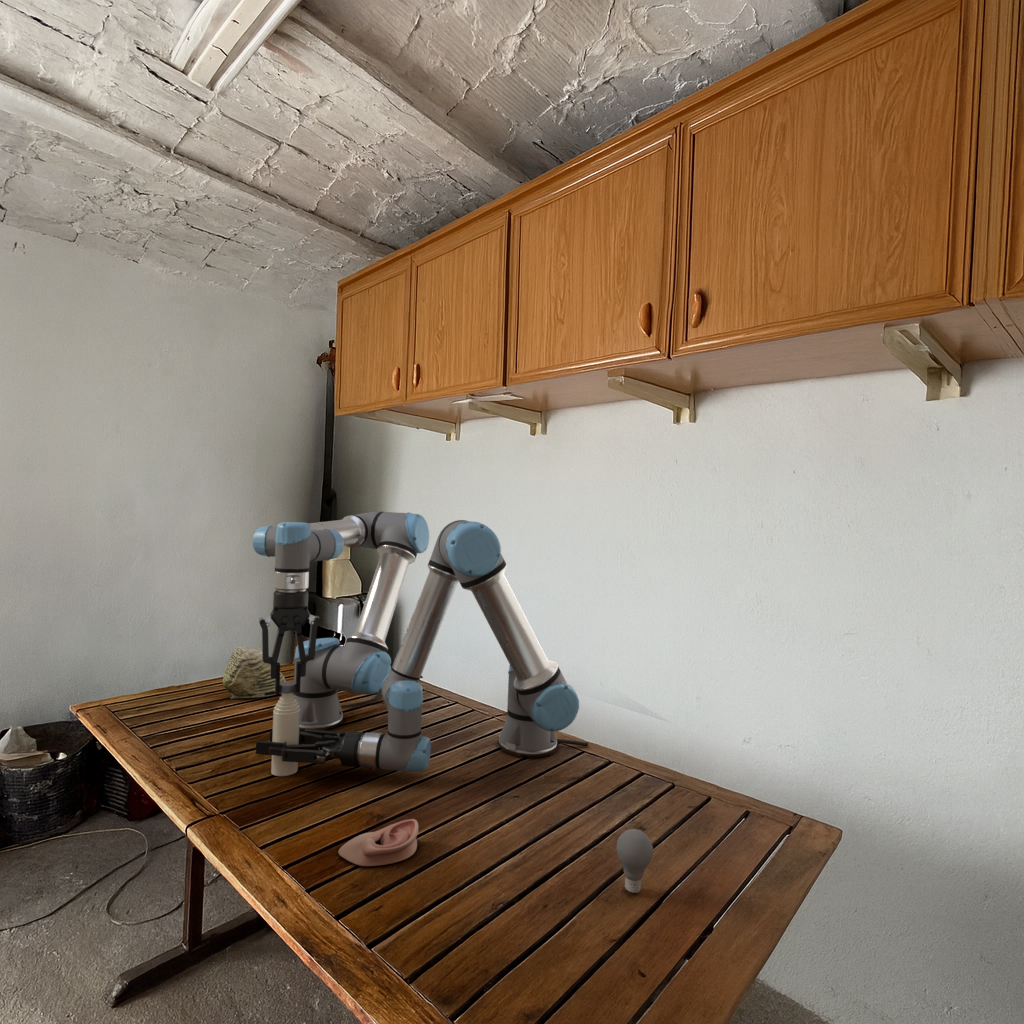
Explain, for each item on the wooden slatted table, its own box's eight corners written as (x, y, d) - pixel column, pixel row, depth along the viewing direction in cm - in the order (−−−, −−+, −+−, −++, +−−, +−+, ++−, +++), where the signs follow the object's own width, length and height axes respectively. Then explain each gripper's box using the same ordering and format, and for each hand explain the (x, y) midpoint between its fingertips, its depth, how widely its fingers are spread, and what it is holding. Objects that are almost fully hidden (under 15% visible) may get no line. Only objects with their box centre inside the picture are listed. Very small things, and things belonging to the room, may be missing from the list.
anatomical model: (330, 838, 110) (359, 807, 121) (329, 861, 110) (358, 828, 121) (402, 850, 107) (425, 817, 119) (401, 873, 108) (424, 838, 119)
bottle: (300, 765, 149) (304, 683, 148) (293, 776, 143) (297, 690, 142) (275, 765, 148) (278, 682, 148) (267, 776, 142) (270, 689, 142)
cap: (282, 694, 142) (282, 687, 142) (275, 690, 145) (275, 682, 145) (299, 691, 145) (299, 684, 145) (292, 687, 148) (292, 680, 148)
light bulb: (610, 879, 108) (613, 822, 108) (644, 879, 109) (647, 822, 109) (619, 902, 102) (622, 840, 102) (655, 901, 103) (658, 840, 103)
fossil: (218, 695, 195) (220, 647, 195) (278, 685, 208) (279, 640, 207) (228, 703, 189) (230, 653, 188) (289, 692, 201) (290, 645, 201)
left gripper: (252, 593, 138) (248, 699, 138) (331, 591, 145) (327, 693, 145) (250, 588, 145) (247, 689, 145) (326, 586, 152) (323, 684, 152)
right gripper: (346, 784, 134) (242, 775, 136) (373, 749, 153) (281, 742, 155) (348, 749, 134) (243, 741, 136) (375, 719, 153) (282, 712, 155)
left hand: (287, 691), depth 145 cm, fingers closed on cap, 4 cm apart
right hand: (264, 741), depth 146 cm, fingers closed on bottle, 6 cm apart
